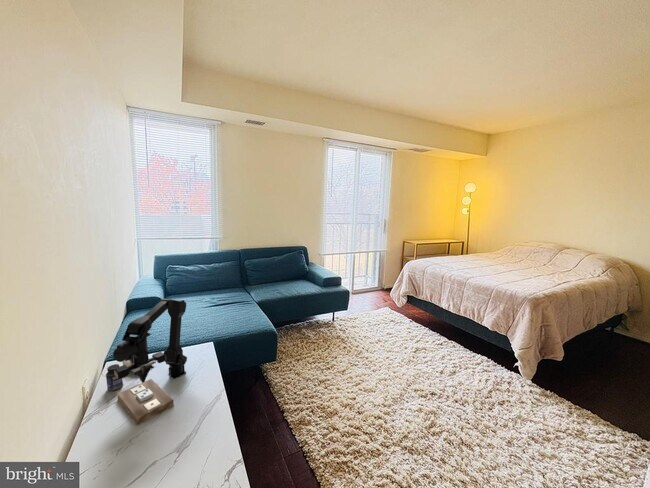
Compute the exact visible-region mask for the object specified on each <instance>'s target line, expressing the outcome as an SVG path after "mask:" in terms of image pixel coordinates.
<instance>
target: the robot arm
mask: <svg viewBox="0 0 650 488" xmlns="http://www.w3.org/2000/svg"><path fill="white" fill-rule="evenodd" d="M186 309H187V302H186V301H185V300H184V299H183V300H182V299H181V300H180V299H171V298H161V299H160V300H159V302H158V303H156V305H154V306H153V307H152V308H151V309H150V310H148V312H146V313H145V314H144V315H143V316H140V317H137V318H136V319H135V318H134V320H132V321H131V322H130V323H128V325H127V328H126V330H125V332H124V335H123V337H122V338H121V341H122V342H121V343H119V344H117V345H116V349H114V350H113V353H112V356H113V359H114V360H115V361H116V362H118V363H123V361H124V360H125V361H128V360H130V361H131V363H133V365H131V366H129V367H127V366H126V365H123V364H122V365H121V366H120V365H119V367H117V368H115V370H114V375H115V376H116V377H117V378H118V379H121V378H122V379H124V378H126V377H128V376H129V375H130V373H132V374H133V375H136V376H138V379H139V380H140V382H141V383H143V382H145V381H146V379H147V376H148V375H149V373H150V371H151V369H153V368H154V365H153V364H152V362H156V363H158V364H161V363H164V362H165V364H166V365H169V366H168V376H170V377H171V378H172V379H176V378H179V377H181V376H184V375H185V374H187V371H186V370H185V364H186V362H188V357H187V356H186V355H184V353H183V351H184V350H183V348H182V347H181V333H182V332H181V331H182V329H181V328H182V318H183V316H184V315H185V313H186ZM166 311H167V314H168V316H169V318H170V325H169V335H168V336H169V338H168V339H169V341H168V347H167V348H166V349H165V350H163V352H162V351H158V352H156V353H153V354H152V355H151V356H152V357H150V358H149V354H150V351H149V347H148V337H149V336H151V333H149V332H150V331H151V329H152V327H153V326H152V325H153V323H154V322H155V321H156V320H157V319H158V318H160V316H162V315H163V313H164V312H166ZM140 367H142V370H141V369H140Z"/></svg>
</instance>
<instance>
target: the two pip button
mask: <svg viewBox="0 0 650 488" xmlns="http://www.w3.org/2000/svg"><path fill="white" fill-rule="evenodd" d="M144 390H146V388H145V387H144V386H143V385H139V386H137V387H135V388H133V389H130V392H131V393H132V394H133V395H135V394H137V393H139V392H141V391H144Z"/></svg>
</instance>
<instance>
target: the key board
mask: <svg viewBox="0 0 650 488" xmlns="http://www.w3.org/2000/svg"><path fill="white" fill-rule="evenodd" d="M139 385H143V386H144V387H145V388H146V389H150V390H151V391H152V393H153V397H151V398H149V399H147V400H145V401H143V402H141V403H140V402H139V401H138V400H137V397H136V394H135V395H133V394H132V393H131V392H130V389H133V388H135V387H137V386H139ZM141 392H142V391H141ZM139 393H140V392H139ZM137 394H138V393H137ZM154 399H157V400H158V401H159V402H160V403H161V405H159V406H157V407H155V408H153V409H151V410H149V411H147V410H146V409H145V408H144V406H143V405H144V404H146V403H148V402H150V401H152V400H154ZM117 400H118V401H119V402H120V404H121V406H123V408H124V409H125V410H126V412H127V413H128V414H129V416H130V417H131V418H132V420H133V421H134V422H135V423H136V425H138V426H139V425H141V424H143V423H144V422H146V421H149V420H150V419H152V418H153V417H155V416H157V415H159V414H161V413H163V412H165V411H167V410H169V409H170V408H172V407H174V406H175V404H174V399H173V398H172V397H171V396H170V395H169V394H168V393H167V392H166V391H165V390H164V389H162V388H161V387H160V386H159V385H158V384H157V382H155V381H154V380H153V379H152V378H150V379H148V380H145V382H143V383H142V382H141V383H139V384H136V385H133V386H131V387H130V388H127V389H126V390H125V389H124V390H123V391H121V392H118V393H117Z"/></svg>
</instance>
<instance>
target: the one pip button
mask: <svg viewBox="0 0 650 488" xmlns="http://www.w3.org/2000/svg"><path fill="white" fill-rule="evenodd" d="M159 405H161V403H160V402H159V401H158V400H157V399H154V400H152V401H150V402H148V403H146V404H144V405H143V406H144V408H145V409H146V410H147V411H149V410H151V409H153V408H155V407H157V406H159Z"/></svg>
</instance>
